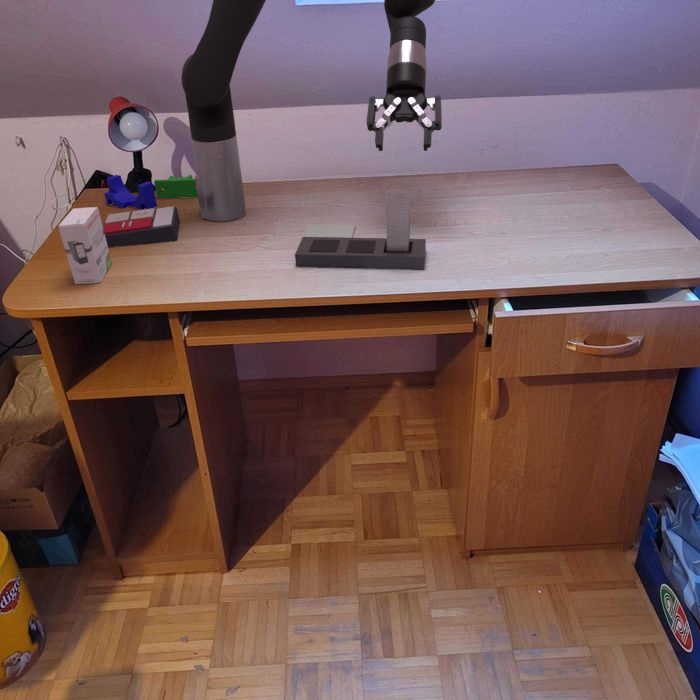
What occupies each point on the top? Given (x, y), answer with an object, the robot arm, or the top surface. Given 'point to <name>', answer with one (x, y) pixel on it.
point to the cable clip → (129, 194)
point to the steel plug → (398, 221)
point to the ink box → (85, 245)
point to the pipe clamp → (176, 187)
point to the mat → (330, 231)
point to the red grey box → (142, 227)
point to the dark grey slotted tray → (357, 253)
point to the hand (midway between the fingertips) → (402, 149)
